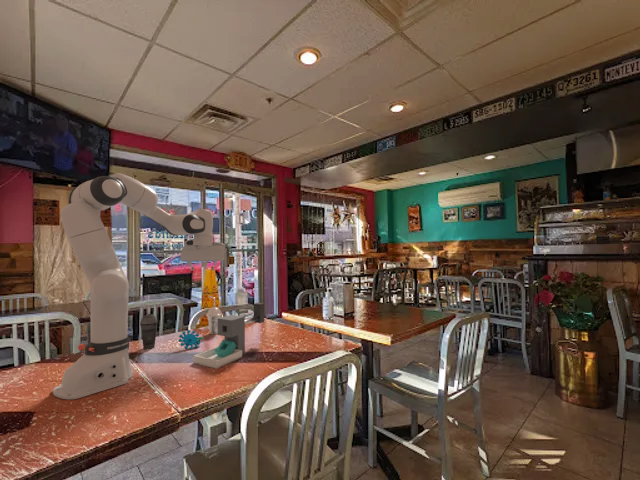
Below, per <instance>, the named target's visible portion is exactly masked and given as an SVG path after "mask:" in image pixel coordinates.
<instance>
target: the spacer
mask: <svg viewBox="0 0 640 480" xmlns="http://www.w3.org/2000/svg"><path fill="white" fill-rule="evenodd" d="M216 347H217V349H216V350H215V352H216V354H217V355H218V356H222V357H226V356H228V355H231V354H232V352H233V351H234V349H235V348H236V344H235V343H234V341H228V340H225V339H222V340H221V342H220V343H219V345H218V346H216Z"/></svg>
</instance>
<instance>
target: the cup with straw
mask: <svg viewBox="0 0 640 480" xmlns="http://www.w3.org/2000/svg"><path fill="white" fill-rule="evenodd" d="M208 297H209V298H211V299H213V307H211V308H210V309H208V311H207V313H206V315H205V316H206V317H207V322H208V328H209V334H210V335H218V318H221V317H222V316H224V315H223V312H222V311H221V309H220V308H218V307H216V297H214V296H212V295H208Z"/></svg>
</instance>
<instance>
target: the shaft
mask: <svg viewBox="0 0 640 480" xmlns="http://www.w3.org/2000/svg"><path fill="white" fill-rule="evenodd" d="M251 323H256V324H257V323H258V324H262V323H265V302H254V303H253V317H251V318H248V319H247V318H246V319H245V326H246V325H248V324H251Z"/></svg>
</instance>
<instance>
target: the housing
mask: <svg viewBox="0 0 640 480" xmlns="http://www.w3.org/2000/svg"><path fill="white" fill-rule="evenodd" d="M245 320H246V319H245V316H242V315H235V314H229V315H226V316H221V318H218V334H217V336H221V337H224V340H228V341H234V343H235V344H236V348H235V349H238V350H242V355H244V354H246V336H245V335H246V329H245V328H246V327H245V326H246V325H245Z"/></svg>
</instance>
